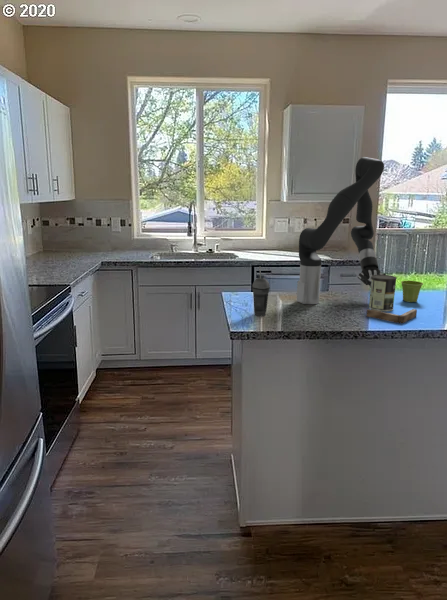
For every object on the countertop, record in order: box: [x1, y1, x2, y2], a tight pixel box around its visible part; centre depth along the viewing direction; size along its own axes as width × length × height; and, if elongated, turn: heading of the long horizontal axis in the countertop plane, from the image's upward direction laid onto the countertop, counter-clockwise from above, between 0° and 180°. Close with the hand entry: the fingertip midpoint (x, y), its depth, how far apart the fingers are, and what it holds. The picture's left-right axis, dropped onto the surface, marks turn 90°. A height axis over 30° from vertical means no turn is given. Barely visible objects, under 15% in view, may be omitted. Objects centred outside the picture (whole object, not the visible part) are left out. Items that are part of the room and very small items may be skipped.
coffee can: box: [368, 274, 398, 312], centre depth 196 cm, size 10×10×14 cm
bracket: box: [366, 308, 418, 325], centre depth 181 cm, size 11×21×3 cm, turn 92°
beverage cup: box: [251, 266, 270, 317], centre depth 183 cm, size 7×7×20 cm
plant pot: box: [400, 280, 424, 303], centre depth 210 cm, size 9×9×9 cm
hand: (375, 292), depth 204 cm, fingers closed
